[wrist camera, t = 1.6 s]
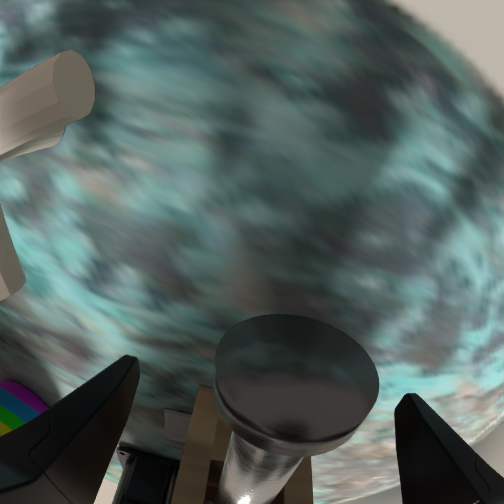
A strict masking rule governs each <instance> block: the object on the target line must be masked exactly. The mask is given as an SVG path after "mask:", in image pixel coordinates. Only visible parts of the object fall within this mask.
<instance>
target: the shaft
mask: <svg viewBox="0 0 504 504" xmlns="http://www.w3.org/2000/svg"><path fill="white" fill-rule="evenodd" d="M378 393H379V377H378V373H377V370H376V367H375V365H374V363H373V361H372V360H371V358H370V356H369V355H368V354H367V352H366V351H365V350H364V349H363V348H362V347H361V346H360V345H359V344H358V343H357V342H356V341H355V340H353V339H352V338H351V337H349V336H348V335H347V334H345V333H343V332H342V331H340V330H338V329H336V328H334V327H332V326H330V325H328V324H326V323H323V322H320V321H317V320H314V319H311V318H307V317H302V316H297V315H288V314H270V315H262V316H257V317H253V318H250V319H247V320H245V321H243V322H240V323H239V324H237V325H235V326H234V327H232V328H231V329H230V330H229V331H228V332H227V333H226V334H225V335H224V336H223V338H222V339H221V341H220V343H219V345H218V348H217V351H216V358H215V366H214V373H213V380H212V396H213V400H214V404H215V406H216V409H217V411H218V413H219V414H220V416H221V418H222V419H223V421H224V422H225V423H226V424H227V425H228V427H229V428H230V429H231V430H232V435H231V439H230V443H229V447H228V451H227V455H226V459H225V463H224V467H223V470H222V474H221V478H220V482H219V486H218V489H217V493H216V497H215V500H214V504H271V502H272V501H273V500H274V498H275V497H276V496H277V494H278V493H279V492H280V490H281V489H282V488H283V486H284V485H285V484H286V482H287V481H288V479H289V478H290V477H291V475H292V474H293V472H294V471H295V469H296V468H297V467H298V465H299V464H300V462H301V461H302V459H303V458H304V457H307V456H315V455H319V454H323V453H326V452H329V451H331V450H334V449H336V448H337V447H339V446H341V445H342V444H344V443H345V442H346V441H347V440H349V439H350V438H351V437H352V435H353V434H354V433H355V432H356V431H357V429H358V428H359V426H360V425H361V424H362V422H363V421H364V419H365V418H366V417H367V415H368V414H369V412H370V411H371V409H372V408H373V406H374V404H375V402H376V400H377V397H378Z"/></svg>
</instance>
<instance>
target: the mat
mask: <svg viewBox="0 0 504 504" xmlns="http://www.w3.org/2000/svg"><path fill="white" fill-rule="evenodd" d="M191 416H192V415H191V414H186V413H182V412H177V411H173V410H169V409H165V410H164V426H165V438H166V439H170V440H174V441H178V442H183V443H185V441H186V437H187V433H188V429H189V424H190V420H191Z"/></svg>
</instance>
